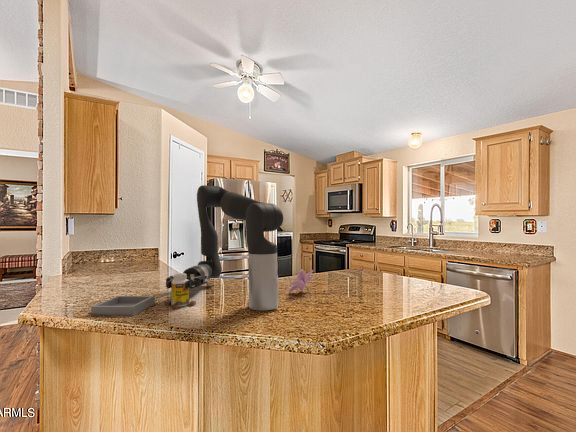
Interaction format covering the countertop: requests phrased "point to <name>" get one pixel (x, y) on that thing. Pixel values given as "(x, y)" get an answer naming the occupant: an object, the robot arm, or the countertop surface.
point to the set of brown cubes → (176, 306)
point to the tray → (123, 306)
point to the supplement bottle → (179, 290)
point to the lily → (301, 280)
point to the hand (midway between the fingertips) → (177, 285)
